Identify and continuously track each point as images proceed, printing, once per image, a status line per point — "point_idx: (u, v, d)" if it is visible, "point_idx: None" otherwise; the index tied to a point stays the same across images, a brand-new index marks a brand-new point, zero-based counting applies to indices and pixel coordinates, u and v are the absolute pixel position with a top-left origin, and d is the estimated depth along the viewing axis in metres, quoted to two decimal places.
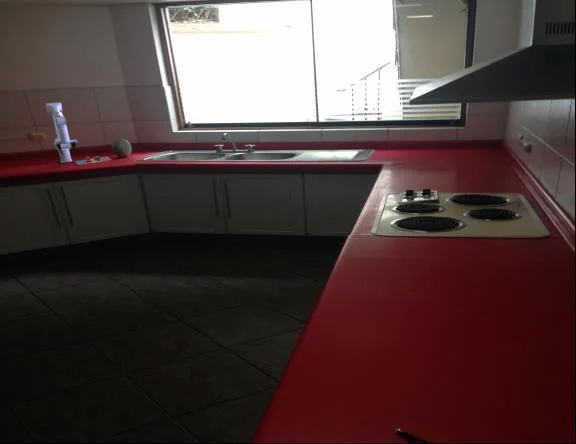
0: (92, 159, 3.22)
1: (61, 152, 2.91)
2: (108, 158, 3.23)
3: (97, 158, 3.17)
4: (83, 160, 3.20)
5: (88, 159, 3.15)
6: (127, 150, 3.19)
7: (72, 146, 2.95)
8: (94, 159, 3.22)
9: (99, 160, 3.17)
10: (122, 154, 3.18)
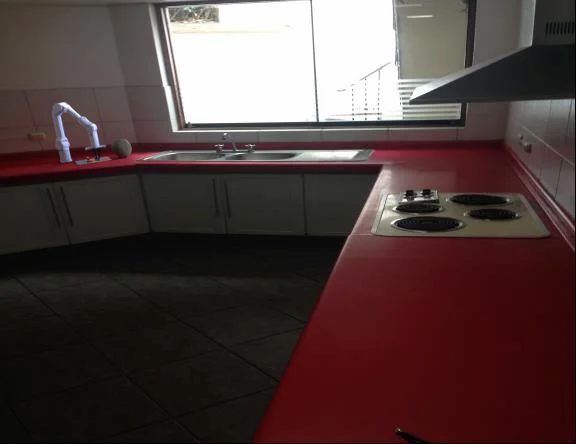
0: (92, 159, 3.22)
1: (96, 156, 3.16)
2: (108, 158, 3.23)
3: (97, 158, 3.17)
4: (83, 160, 3.20)
5: (88, 159, 3.15)
6: (127, 150, 3.19)
7: (97, 151, 3.18)
8: (94, 159, 3.22)
9: (99, 160, 3.17)
10: (122, 154, 3.18)
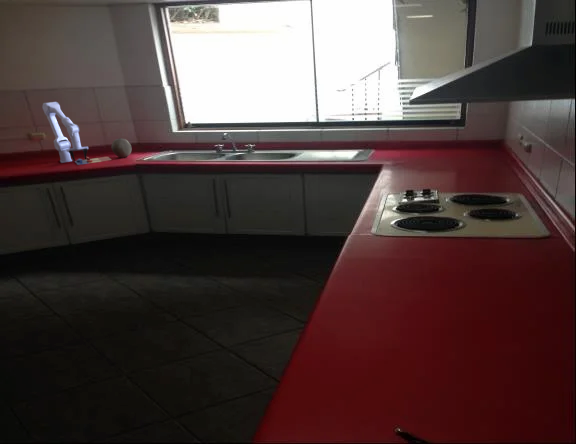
0: (92, 159, 3.22)
1: (73, 158, 3.09)
2: (108, 158, 3.23)
3: (79, 161, 3.11)
4: (83, 160, 3.20)
5: (88, 159, 3.15)
6: (127, 150, 3.19)
7: (84, 152, 3.13)
8: (94, 159, 3.22)
9: None
10: (122, 154, 3.18)
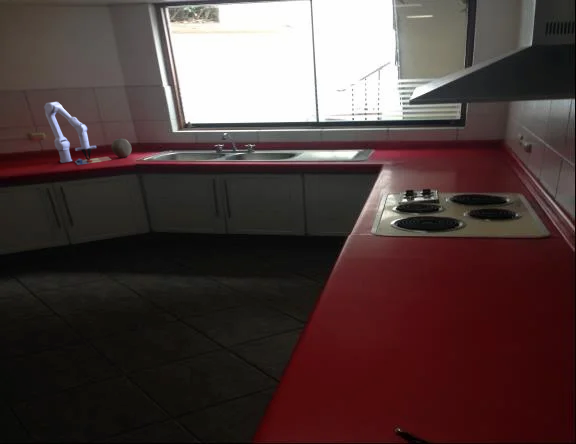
0: (92, 159, 3.22)
1: (86, 156, 3.15)
2: (108, 158, 3.23)
3: (79, 161, 3.11)
4: (83, 160, 3.20)
5: (88, 159, 3.15)
6: (127, 150, 3.19)
7: None
8: (94, 159, 3.22)
9: None
10: (122, 154, 3.18)
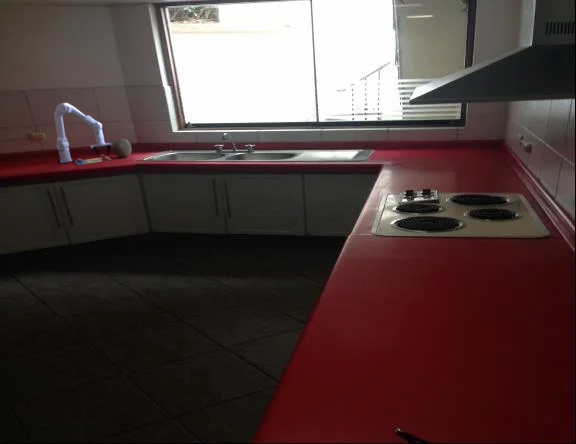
0: (92, 159, 3.22)
1: (97, 154, 3.19)
2: (108, 158, 3.23)
3: (79, 161, 3.11)
4: (83, 160, 3.20)
5: (103, 157, 3.20)
6: (127, 150, 3.19)
7: (107, 149, 3.23)
8: (94, 159, 3.22)
9: None
10: (122, 154, 3.18)
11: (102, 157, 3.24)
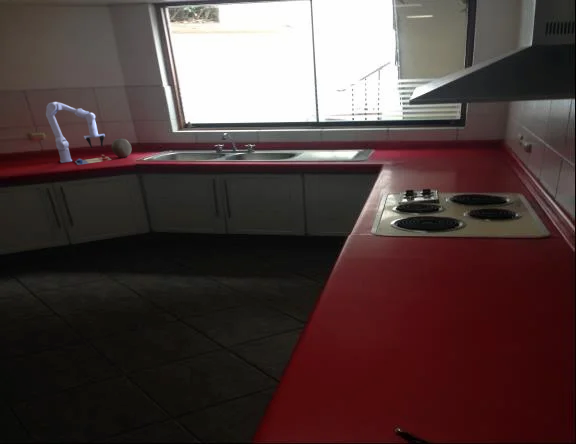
0: (92, 159, 3.22)
1: (90, 145, 3.17)
2: (108, 158, 3.23)
3: (79, 161, 3.11)
4: (83, 160, 3.20)
5: (103, 157, 3.20)
6: (127, 150, 3.19)
7: (100, 140, 3.21)
8: (94, 159, 3.22)
9: None
10: (122, 154, 3.18)
11: (102, 157, 3.24)
